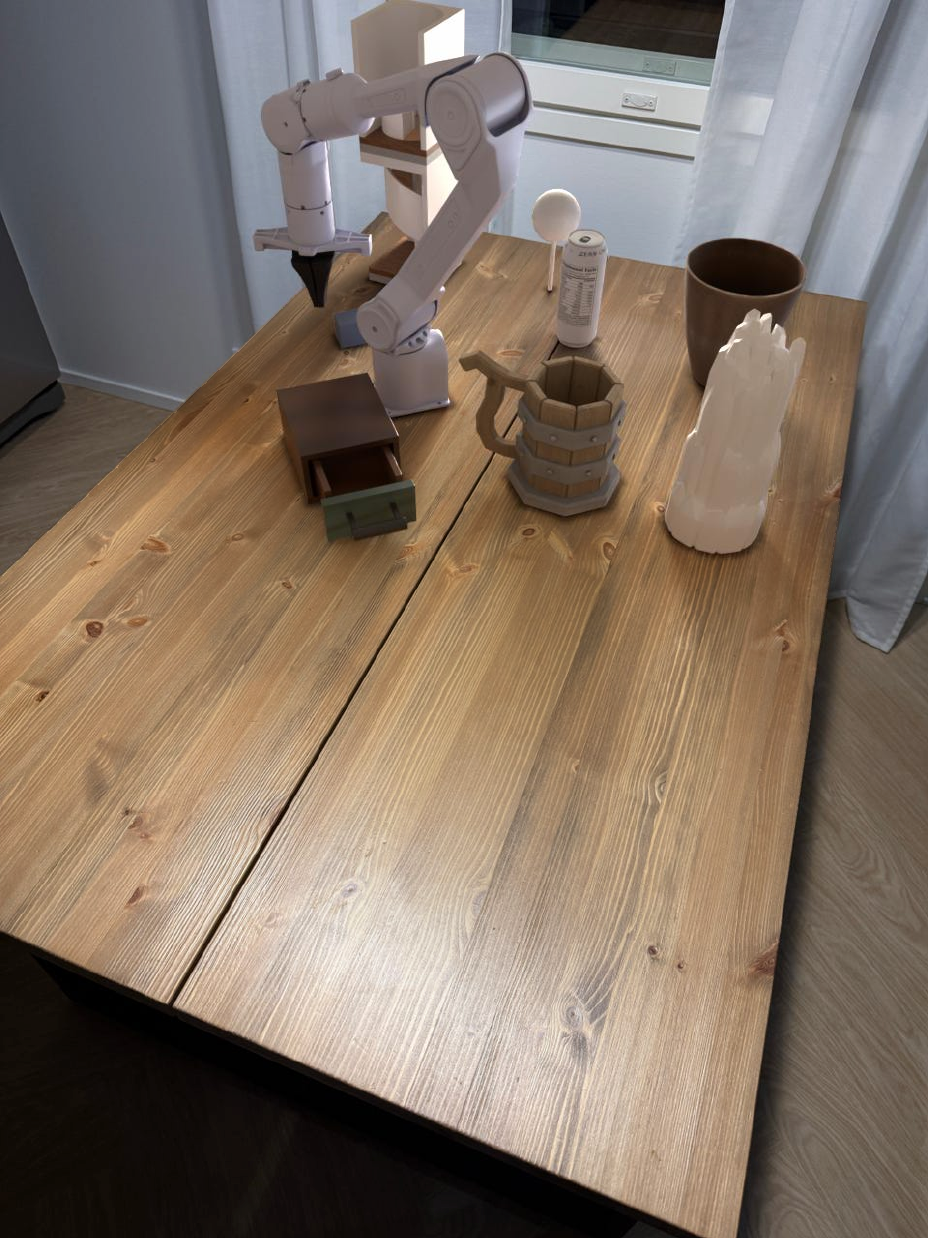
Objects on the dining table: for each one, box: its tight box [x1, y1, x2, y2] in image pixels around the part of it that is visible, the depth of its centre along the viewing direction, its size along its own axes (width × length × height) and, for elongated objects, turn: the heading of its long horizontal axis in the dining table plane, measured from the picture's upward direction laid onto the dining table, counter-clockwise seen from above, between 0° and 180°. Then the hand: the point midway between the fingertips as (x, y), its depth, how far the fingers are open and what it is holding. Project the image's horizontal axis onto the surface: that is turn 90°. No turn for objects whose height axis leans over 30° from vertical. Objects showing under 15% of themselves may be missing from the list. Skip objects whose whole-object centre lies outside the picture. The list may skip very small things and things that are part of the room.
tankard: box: [458, 349, 628, 517], centre depth 104 cm, size 20×13×15 cm, turn 65°
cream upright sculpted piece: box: [664, 309, 807, 555], centre depth 95 cm, size 11×11×25 cm
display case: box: [350, 0, 465, 285], centre depth 129 cm, size 11×11×35 cm
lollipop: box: [531, 188, 582, 291], centre depth 133 cm, size 7×7×15 cm
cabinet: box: [275, 372, 402, 505], centre depth 108 cm, size 14×12×7 cm
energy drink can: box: [554, 228, 609, 349], centre depth 124 cm, size 6×6×15 cm
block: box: [332, 308, 367, 349], centre depth 127 cm, size 4×4×4 cm
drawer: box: [308, 444, 417, 542], centre depth 102 cm, size 17×10×5 cm, turn 19°
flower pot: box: [683, 237, 808, 387], centre depth 118 cm, size 15×15×16 cm
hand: (320, 303), depth 117 cm, fingers closed
